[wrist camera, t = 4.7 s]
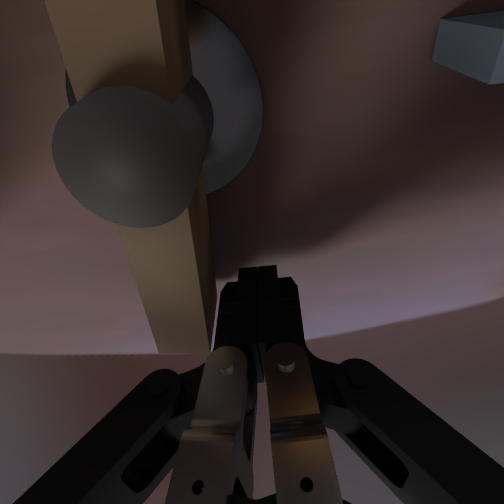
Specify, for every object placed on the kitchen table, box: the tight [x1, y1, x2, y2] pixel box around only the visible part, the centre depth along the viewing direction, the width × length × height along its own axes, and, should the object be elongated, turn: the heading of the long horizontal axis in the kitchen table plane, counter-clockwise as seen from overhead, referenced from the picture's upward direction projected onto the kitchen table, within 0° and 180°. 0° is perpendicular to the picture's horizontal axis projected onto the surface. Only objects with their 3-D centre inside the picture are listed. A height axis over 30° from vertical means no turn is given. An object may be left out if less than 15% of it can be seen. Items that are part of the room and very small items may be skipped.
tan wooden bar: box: [44, 0, 217, 353], centre depth 8 cm, size 17×3×4 cm, turn 1°
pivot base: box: [66, 0, 263, 194], centre depth 10 cm, size 6×6×1 cm
